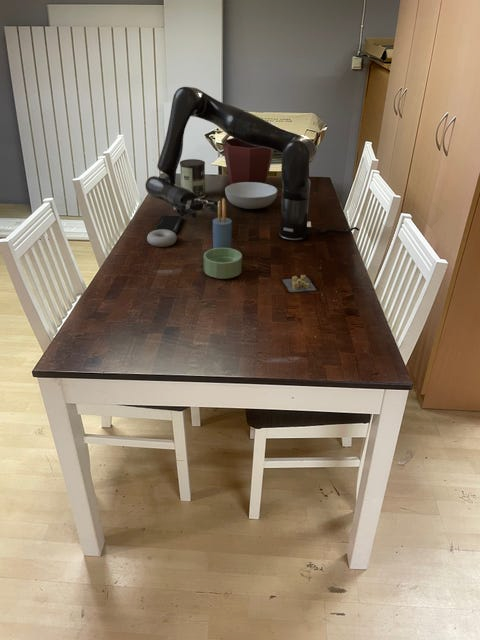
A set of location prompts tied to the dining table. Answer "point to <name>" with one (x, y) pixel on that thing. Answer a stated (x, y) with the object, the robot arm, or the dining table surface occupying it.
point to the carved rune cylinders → (298, 284)
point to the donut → (161, 238)
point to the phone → (169, 223)
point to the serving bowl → (250, 194)
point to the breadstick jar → (222, 228)
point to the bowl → (222, 263)
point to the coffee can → (193, 176)
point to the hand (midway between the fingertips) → (207, 213)
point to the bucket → (246, 161)
